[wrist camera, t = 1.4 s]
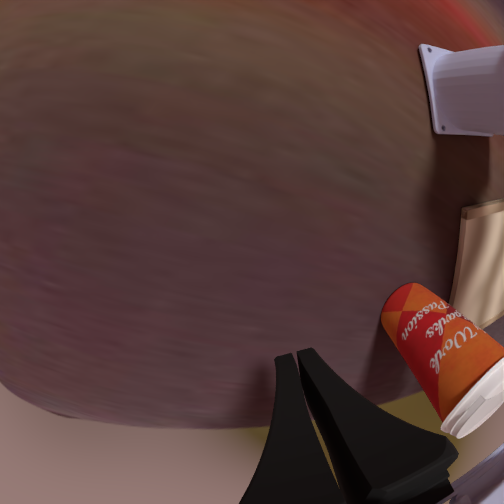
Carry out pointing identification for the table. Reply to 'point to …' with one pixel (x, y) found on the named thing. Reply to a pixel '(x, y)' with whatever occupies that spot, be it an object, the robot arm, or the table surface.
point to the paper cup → (446, 357)
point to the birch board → (480, 264)
